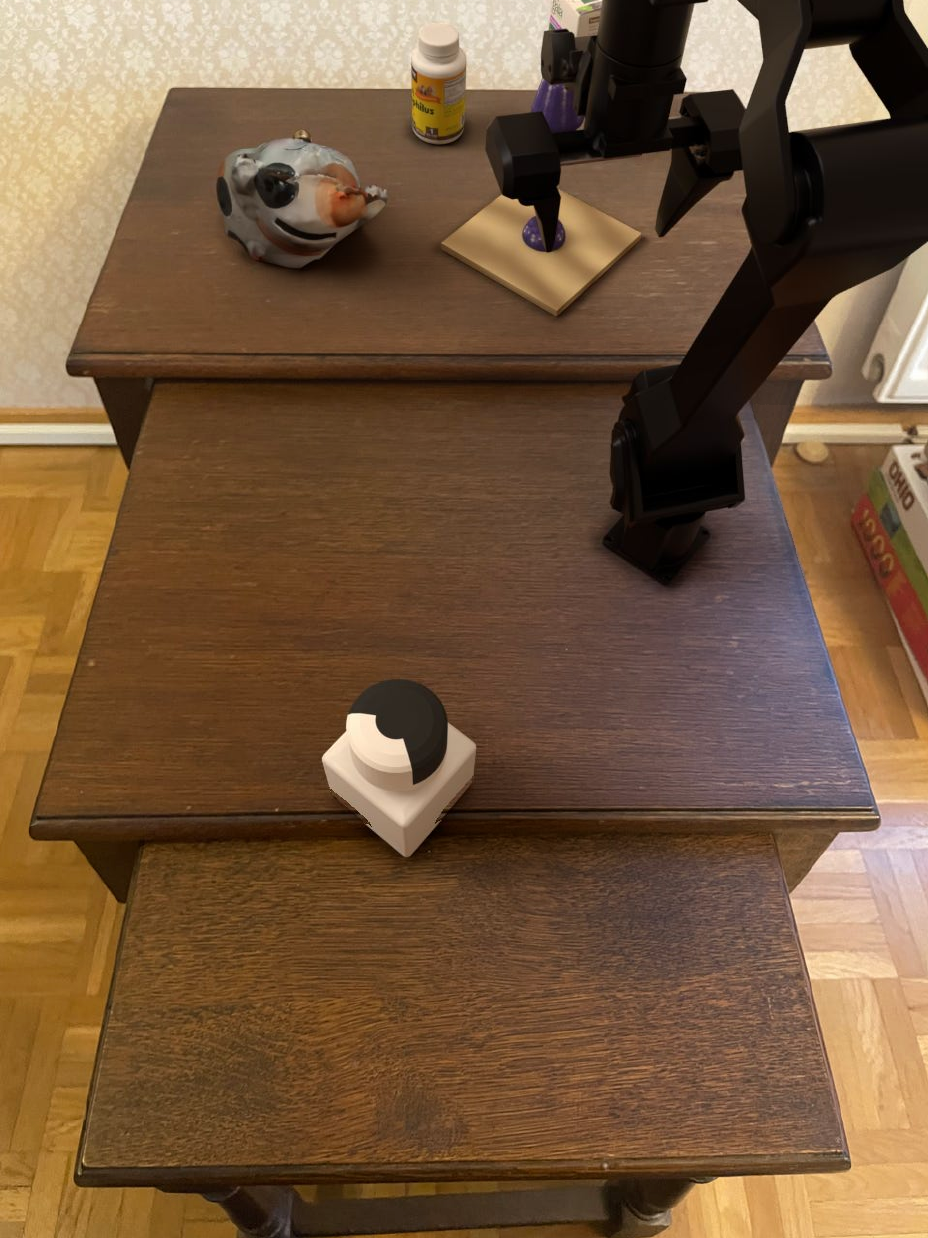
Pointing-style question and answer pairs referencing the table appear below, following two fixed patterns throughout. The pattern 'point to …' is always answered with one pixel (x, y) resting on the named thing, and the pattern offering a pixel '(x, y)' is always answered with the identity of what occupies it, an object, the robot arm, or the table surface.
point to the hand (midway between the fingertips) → (603, 240)
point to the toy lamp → (559, 119)
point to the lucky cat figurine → (293, 199)
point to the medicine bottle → (399, 761)
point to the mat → (535, 274)
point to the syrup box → (575, 18)
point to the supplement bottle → (438, 84)
